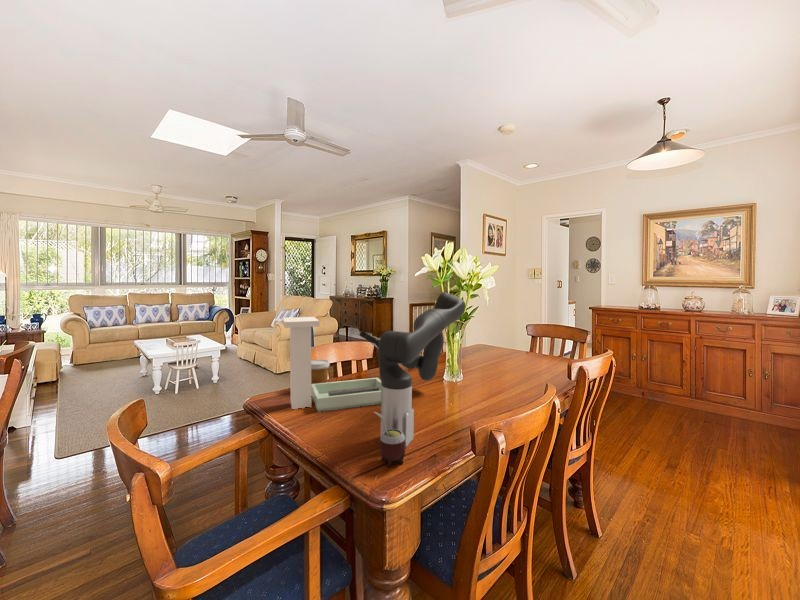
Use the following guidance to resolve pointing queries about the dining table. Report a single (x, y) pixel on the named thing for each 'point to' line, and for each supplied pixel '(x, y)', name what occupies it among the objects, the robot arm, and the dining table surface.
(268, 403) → the dining table surface
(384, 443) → the mate gourd
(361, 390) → the bar
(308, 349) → the stand
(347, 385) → the tray
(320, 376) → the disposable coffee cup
